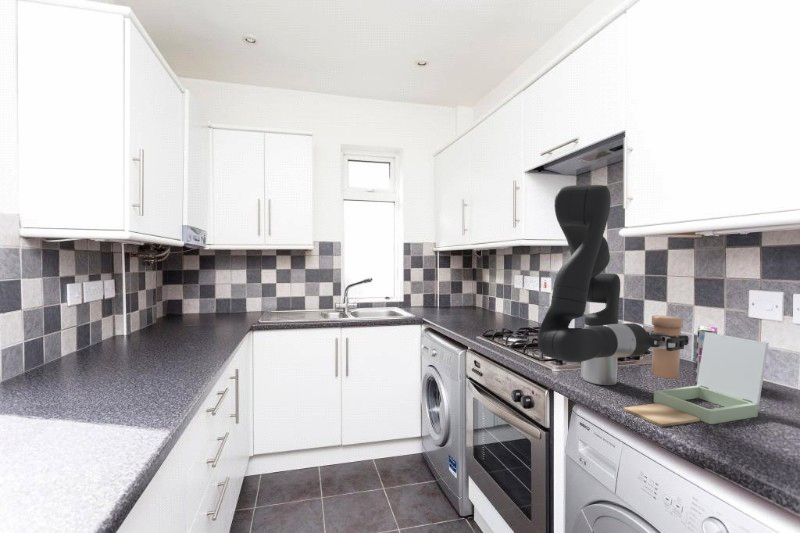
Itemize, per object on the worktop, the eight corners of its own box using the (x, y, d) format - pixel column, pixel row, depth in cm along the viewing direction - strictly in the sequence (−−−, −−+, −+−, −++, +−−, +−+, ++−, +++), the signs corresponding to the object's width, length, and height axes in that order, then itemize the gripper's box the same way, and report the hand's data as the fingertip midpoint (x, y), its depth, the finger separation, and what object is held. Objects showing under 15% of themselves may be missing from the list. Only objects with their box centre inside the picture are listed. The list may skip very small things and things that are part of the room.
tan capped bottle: (643, 372, 95) (645, 315, 94) (662, 370, 96) (664, 315, 96) (668, 379, 89) (670, 319, 88) (687, 378, 91) (689, 318, 90)
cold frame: (653, 402, 101) (654, 390, 101) (697, 396, 106) (697, 385, 106) (710, 424, 88) (710, 411, 88) (757, 416, 93) (757, 404, 93)
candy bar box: (715, 386, 115) (717, 331, 115) (694, 382, 118) (696, 329, 118) (715, 377, 124) (717, 326, 123) (696, 374, 127) (697, 324, 127)
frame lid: (696, 386, 106) (698, 332, 106) (705, 385, 107) (707, 331, 107) (756, 405, 93) (759, 343, 92) (766, 403, 94) (768, 342, 93)
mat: (623, 409, 96) (623, 407, 96) (659, 405, 99) (659, 402, 99) (661, 427, 86) (661, 424, 86) (699, 420, 90) (699, 418, 90)
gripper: (650, 329, 81) (706, 327, 86) (596, 319, 95) (647, 317, 100) (648, 365, 81) (705, 360, 86) (595, 349, 95) (646, 346, 100)
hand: (674, 337), depth 93 cm, fingers closed on tan capped bottle, 5 cm apart
